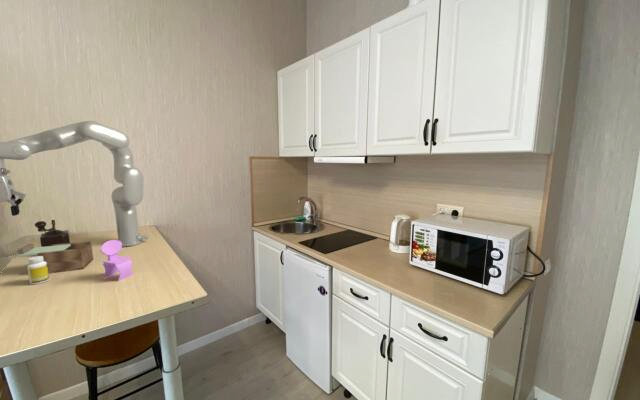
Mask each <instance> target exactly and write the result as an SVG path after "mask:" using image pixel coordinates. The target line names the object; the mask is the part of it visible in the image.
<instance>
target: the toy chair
mask: <svg viewBox="0 0 640 400" xmlns="http://www.w3.org/2000/svg"><path fill="white" fill-rule="evenodd" d="M121 250H122V243H121V242H120V241H118V239H117V240H116V239H111V240H107V241H105V242H104V243H103V244H102V245H101V247H100V253H101V254H103V255H105V256H107V258H108V259H107V260H104V261H102V262H103V264H102V266H103V268H104V274H103V276H102V280H103V279H106V278H108V277H110V276H113V275H116V274H118V273H119V276H118V279H117V282H120V281H122V280H125V279H127V278H129V277H132V276H133V275H134V274H133V272H132V263H133V262H132V259H131V257H128V256H121V255H118V253H119V252H121Z"/></svg>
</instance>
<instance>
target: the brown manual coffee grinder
mask: <svg viewBox="0 0 640 400" xmlns="http://www.w3.org/2000/svg"><path fill="white" fill-rule="evenodd" d="M46 226H47V222H46V221H42V220H40V221H37V222H35V223H34V227H36V228H37V231H38V232H41V235H40V238H39V239H40V247H46V246H51V245H54V244H65V243H71V241H70V233H69V230H68V229H67V230H60V229H56V220H55V219H51V228H48V229H46V228H45V227H46ZM43 232H44V233H43Z"/></svg>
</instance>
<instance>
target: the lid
mask: <svg viewBox="0 0 640 400" xmlns="http://www.w3.org/2000/svg"><path fill="white" fill-rule="evenodd" d="M70 246H71V244H67V245H57V246H46V247H41V246H38V247H37V246H36V247H35V246H34V243H27V244H25V245H24V246H22V247H20V248H17V254H16V257H17V258H19V257H26V256H27V257H29V256H38V255H37V254H38V253H42V252H52V251H61V250H65V249H67V248H68V247H70Z"/></svg>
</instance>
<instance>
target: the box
mask: <svg viewBox="0 0 640 400" xmlns="http://www.w3.org/2000/svg"><path fill="white" fill-rule="evenodd" d="M67 244H71V246H70V247H68V248H67V249H65V250H61V251H52V252H42V253H38V254H37V255H36V256H43V258H44V260H43V261H45V262H46V263H47V267H48V274H49V275H50V274H57V273H65V272H73V271H79V270H84V269H86V267H88V265H89V264H91V262H92V261H94V254H93V246H92V241H91V240H87V241H79V242H77V241H76V242H70V243H65V244H54V245H51V246H57V245H67Z"/></svg>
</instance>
